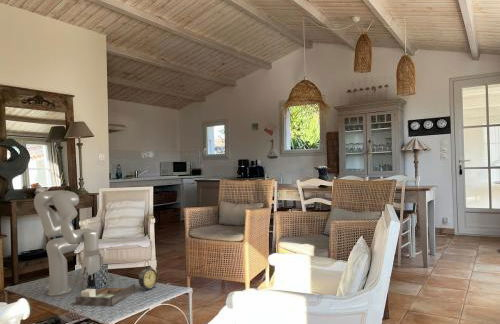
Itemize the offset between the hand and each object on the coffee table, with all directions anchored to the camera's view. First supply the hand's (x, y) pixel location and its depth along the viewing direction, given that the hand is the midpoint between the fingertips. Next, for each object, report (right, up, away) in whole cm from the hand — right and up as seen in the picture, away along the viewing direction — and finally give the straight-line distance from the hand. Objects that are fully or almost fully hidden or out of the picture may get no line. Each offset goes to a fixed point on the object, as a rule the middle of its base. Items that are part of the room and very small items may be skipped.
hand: (91, 286), depth 211 cm
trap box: (+9, -6, -2) cm, 11 cm away
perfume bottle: (-12, -8, +39) cm, 42 cm away
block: (+1, -4, -6) cm, 7 cm away
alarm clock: (+28, -5, +10) cm, 31 cm away
